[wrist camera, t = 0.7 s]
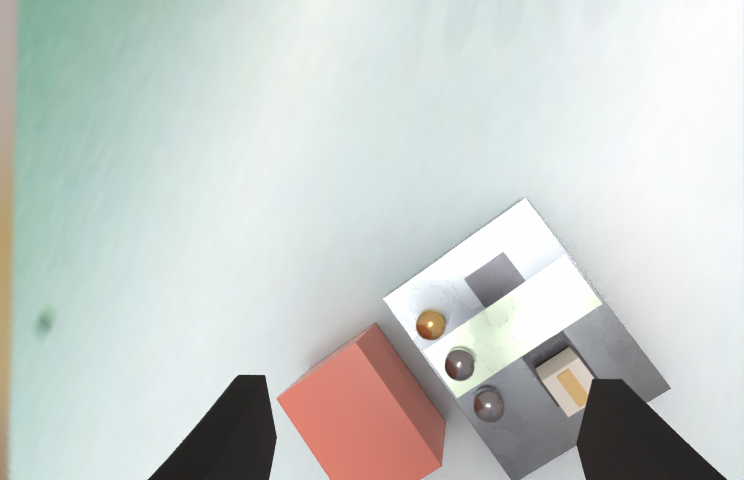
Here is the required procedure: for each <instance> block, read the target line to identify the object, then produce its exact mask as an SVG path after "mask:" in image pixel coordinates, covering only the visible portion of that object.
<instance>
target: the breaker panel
mask: <svg viewBox="0 0 744 480" xmlns="http://www.w3.org/2000/svg"><path fill="white" fill-rule="evenodd" d="M384 301H385V302H386V304H387V305H388V306H389V308H390V309H391V311H392V312H393V313H394V315H395V316H396V318H397V319H398V321H399V322H400V323H401V325H402V326H403V328H404V329H405V330H406V332H407V333H408V335H409V336H410V337H411V339H412V340H413V342H414V343H415V344H416V346H417V347H418V349H419V350H420V352H421V353H422V354H423V356H424V357H425V359H426V360H427V361H428V363H429V364H430V366H431V367H432V368H433V370H434V371H435V373H436V374H437V376H438V377H439V378H440V380H441V381H442V383H443V384H444V385H445V387H446V388H447V390H448V391H449V392H450V394H451V395H452V397H453V398H454V400H455V401H456V402H457V404H458V405H459V407H460V408H461V409H462V411H463V412H464V414H465V415H466V416H467V418H468V419H469V421H470V422H471V424H472V425H473V426H474V428H475V429H476V431H477V432H478V433H479V435H480V436H481V438H482V439H483V440H484V442H485V443H486V445H487V446H488V447H489V449H490V450H491V452H492V453H493V455H494V456H495V457H496V459H497V460H498V462H499V463H500V464H501V466H502V467H503V469H504V470H505V471H506V473H507V474H508V476H509V477H510V479H511V480H520V479H521V478H523V477H525V476H526V475H528V474H529V473H531V472H533V471H534V470H536V469H538V468H539V467H541V466H543V465H544V464H546V463H548V462H549V461H551V460H553V459H554V458H556V457H558V456H559V455H561V454H563V453H564V452H566V451H568V450H569V449H571V448H573V447H574V446H576V445H577V444H576V442H577V438H578V434H579V430H580V426H581V422H582V418H583V414H584V410H585V407H584V408H583V409H581V410H580V411H578V412H576V413H575V414H573V415H571V416H570V417H568V416H567V415H566V413H565V412H564V411H563V409H562V408H561V406H560V405H559V404H558V402H557V401H556V400H555V398H554V397H553V396H552V394H551V393H550V391H549V390H548V389H547V387H546V386H545V385H544V383H543V382H542V380H541V378H540V377H539V375H538V373H537V371H536V368H537V367H539V366H540V365H542V364H543V363H545V362H546V361H548V360H550V359H551V358H553V357H554V356H556V355H557V354H559V353H560V352H562V351H564V350H565V349H567V348H568V347H569V348H570V349H571V350H572V351H573V352H574V353H575V354H576V355H577V356H578V357H579V358H580V360H581V361H582V363H583V364H584V365H585V367H586V368H587V369H588V371H589V372H590V373H591V375H592V376H593V377H594V379H622V380H623V381H624V382H625V383H626V384H627V385H628V386H629V387H630V388H631V389H632V390H633V391H634V392H635V393H636V394H637V395H638V396H639V397H641V398H642V399H643V400H644V401H645V402H646V403H647V402H649V401H651V400H652V399H654V398H656V397H657V396H659V395H661V394H662V393H664V392H666V391H667V390H669V389H671V388H670V386H669V385H668V384H667V382H666V381H665V380H664V379H663V377H662V376H661V375H660V373H659V372H658V371H657V369H656V368H655V367H654V365H653V364H652V363H651V362H650V360H649V359H648V358H647V356H646V355H645V354H644V352H643V351H642V350H641V348H640V347H639V346H638V344H637V343H636V342H635V341H634V339H633V338H632V337H631V335H630V334H629V333H628V331H627V330H626V329H625V327H624V326H623V325H622V324H621V322H620V321H619V320H618V318H617V317H616V316H615V314H614V313H613V312H612V310H611V309H610V308H609V307H608V305H607V304H606V303H605V301H604V300H603V299H602V297H601V296H600V295H599V293H598V292H597V291H596V290H595V288H594V287H593V286H592V284H591V283H590V282H589V280H588V279H587V278H586V276H585V275H584V274H583V272H582V271H581V270H580V269H579V267H578V266H577V265H576V263H575V262H574V261H573V259H572V258H571V257H570V255H569V254H568V253H567V252H566V250H565V249H564V248H563V246H562V245H561V244H560V242H559V241H558V240H557V238H556V237H555V236H554V235H553V233H552V232H551V231H550V229H549V228H548V227H547V225H546V224H545V223H544V221H543V220H542V219H541V217H540V216H539V215H538V214H537V212H536V211H535V210H534V208H533V207H532V206H531V204H530V203H529V202H528V200H527V199H526V198H524V199H523V200H521V201H520V202H518V203H517V204H516V205H514V206H513V207H511V208H510V209H508V210H507V211H506V212H504V213H503V214H501V215H500V216H499V217H497V218H496V219H494V220H493V221H492V222H490V223H489V224H487V225H486V226H485V227H483V228H482V229H480V230H479V231H478V232H476V233H475V234H473V235H472V236H471V237H469V238H468V239H466V240H465V241H464V242H462V243H461V244H459V245H458V246H457V247H455V248H454V249H452V250H451V251H450V252H448V253H447V254H445V255H444V256H443V257H441V258H440V259H438V260H437V261H436V262H434V263H433V264H431V265H430V266H429V267H427V268H426V269H424V270H423V271H422V272H420V273H419V274H417V275H416V276H415V277H413V278H412V279H410V280H409V281H407V282H406V283H405V284H403V285H402V286H400V287H399V288H398V289H396V290H395V291H393V292H392V293H391V294H389V295H388V296H386V297H385V298H384Z"/></svg>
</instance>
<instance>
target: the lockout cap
mask: <svg viewBox="0 0 744 480" xmlns="http://www.w3.org/2000/svg"><path fill="white" fill-rule="evenodd" d="M276 399H277V400H278V402H279V403H280V405H281V406H282V408H283V409H284V411H285V412H286V414H287V415H288V417H289V418H290V420H291V421H292V423H293V424H294V426H295V427H296V429H297V430H298V432H299V433H300V435H301V436H302V438H303V439H304V441H305V442H306V444H307V445H308V447H309V448H310V450H311V451H312V453H313V454H314V456H315V457H316V459H317V460H318V462H319V463H320V465H321V466H322V468H323V469H324V471H325V472H326V474H327V475H328V477H329V478H330V480H420V479H422V478H423V477H425V476H427V475H428V474H430V473H431V472H433V471H435V470H436V469H438V468H439V467H441V466H442V458H443V447H444V436H445V425H446V422H445V421H444V419H443V418H442V416H441V415H440V414H439V412H438V411H437V409H436V408H435V407H434V405H433V404H432V402H431V401H430V399H429V398H428V397H427V395H426V394H425V392H424V391H423V389H422V388H421V387H420V385H419V384H418V382H417V381H416V379H415V378H414V377H413V375H412V374H411V372H410V371H409V370H408V368H407V367H406V365H405V364H404V362H403V361H402V360H401V358H400V357H399V355H398V354H397V352H396V351H395V350H394V348H393V347H392V345H391V344H390V342H389V341H388V340H387V338H386V337H385V335H384V334H383V333H382V331H381V330H380V328H379V327H378V325H377V324H376V323H374V324H373V325H371V326H370V327H368V328H367V329H366V330H364V331H363V332H361V333H360V334H359V335H357V336H356V337H354V338H353V339H351V340H350V341H349V342H347V343H346V344H344V345H343V346H342V347H340V348H339V349H337V350H336V351H334V352H333V353H332V354H330V355H329V356H327V357H326V358H325V359H323V360H322V361H320V362H319V363H317V364H316V365H315V366H313V367H312V368H310V369H309V370H308V371H307V372H306V373H305V374H303V375H302V376H301V377H300V378H299V379H298V380H297V381H295V382H294V383H293V384H292V385H291V386H290V387H289V388H288V389H286V390H285V391H284V392H283V393H282V394H281V395H280V396H279V397H277V398H276Z"/></svg>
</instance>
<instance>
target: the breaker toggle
mask: <svg viewBox="0 0 744 480" xmlns="http://www.w3.org/2000/svg"><path fill="white" fill-rule="evenodd" d="M536 371H537V373H538V375H539V377H540V378H541V380H542V382H543V383H544V385H545V386H546V387H547V389H548V390H549V391H550V393H551V394H552V396H553V397H554V398H555V400H556V401H557V402H558V404H559V405H560V406H561V408H562V409H563V411H564V412H565V413H566V415H567V416H568V417H570V416H571V415H573V414H575V413H576V412H578V411H580V410H581V409H583V408H584V407H585V406H586V402H587V398H588V394H589V390H590V386H591V382H592V379H594V377H593V376H592V375H591V373H590V372H589V371H588V369H587V368H586V367H585V365H584V364H583V363H582V361H581V360H580V358H579V357H578V356H577V355H576V354H575V353H574V352H573V351H572V350H571V349H570V348H569V347H568V348H567V349H565V350H564V351H562V352H560V353H559V354H557V355H556V356H554V357H553V358H551V359H550V360H548V361H546V362H545V363H543V364H542V365H540V366H539V367H537V368H536Z"/></svg>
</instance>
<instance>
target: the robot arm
mask: <svg viewBox="0 0 744 480" xmlns="http://www.w3.org/2000/svg"><path fill="white" fill-rule="evenodd" d="M276 439H277V436H276V431H275V425H274V420H273V415H272V409H271V404H270V399H269V394H268V388H267V383H266V378H265V375H238V376H237V377H236V378H235V379H234V380H233V381H232V382H231V384H230V385H229V386H228V387H227V389H226V390H225V391H224V392H223V394H222V395H221V396H220V397H219V399H218V400H217V401H216V402H215V404H214V405H213V406H212V407H211V408H210V410H209V411H208V412H207V413H206V415H205V416H204V417H203V418H202V419H201V421H200V422H199V423H198V424H197V425H196V427H195V428H194V429H193V430H192V431H191V432H190V434H189V435H188V436H187V437H186V438H185V439H184V440H183V442H182V443H181V444H180V445H179V446H178V447H177V448H176V450H175V451H174V452H173V453H172V454H171V455H170V456H169V458H168V459H167V460H166V461H165V462H164V463H163V464H162V465H161V466H160V467H159V468H158V469H157V470H156V472H155V473H154V474H153V475H152V476H151V477H150V478H149V479H148V480H269V477H270V472H271V467H272V462H273V456H274V450H275V445H276ZM576 444H577V448H578V452H579V455H580V459H581V463H582V467H583V471H584V474H585V478H586V480H727V479H726V478H725V477H724V476H722V475H721V474H720V473H719V472H718V471H717V470H716V469H715V468H714V467H712V466H711V465H710V464H709V463H708V462H707V461H706V460H705V459H704V458H703V457H702V456H701V455H699V454H698V453H697V452H696V451H695V450H694V449H693V448H692V447H691V446H690V445H689V444H688V443H687V442H686V441H685V440H684V439H683V438H681V437H680V436H679V435H678V434H677V433H676V432H675V431H674V430H673V429H672V428H671V427H670V426H669V425H668V424H667V423H666V422H665V421H664V420H663V419H662V418H661V417H660V416H659V415H658V414H657V413H656V412H655V411H654V410H653V409H652V408H651V407H650V406H649V405H648V404H647V403H646V402H645V401H644V400H643V399H642V398H641V397H639V396H638V395H637V394H636V393H635V392H634V391H633V390H632V389H631V388H630V387H629V386H628V385H627V384H626V383H625V382H624V381H623V380H622V379H592V382H591V386H590V390H589V394H588V398H587V402H586V406H585V410H584V414H583V418H582V422H581V426H580V430H579V434H578V438H577V442H576Z"/></svg>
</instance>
